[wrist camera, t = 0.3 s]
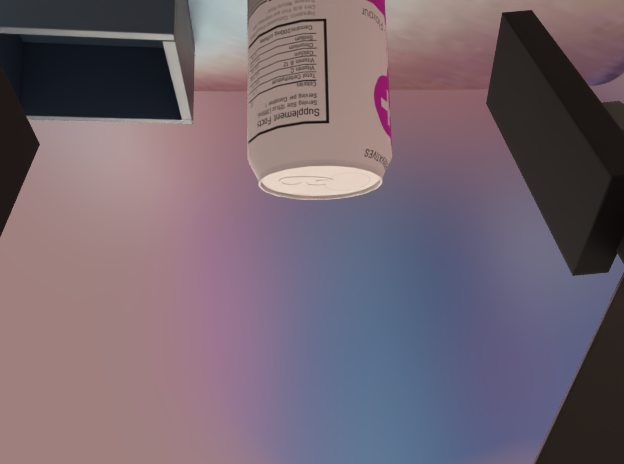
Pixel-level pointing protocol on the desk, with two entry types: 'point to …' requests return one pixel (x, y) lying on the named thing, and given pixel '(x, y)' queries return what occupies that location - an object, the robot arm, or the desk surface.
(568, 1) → the desk surface
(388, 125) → the supplement can
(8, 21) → the bin
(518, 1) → the desk surface
